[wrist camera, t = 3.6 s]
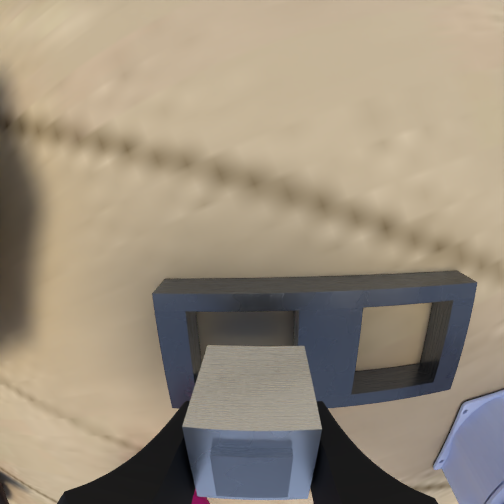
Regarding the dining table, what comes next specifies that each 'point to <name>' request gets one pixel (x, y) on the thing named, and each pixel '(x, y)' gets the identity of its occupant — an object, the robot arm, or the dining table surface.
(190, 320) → the blue-grey frame board
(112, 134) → the dining table surface
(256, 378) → the grey metal block
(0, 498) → the oil lamp
